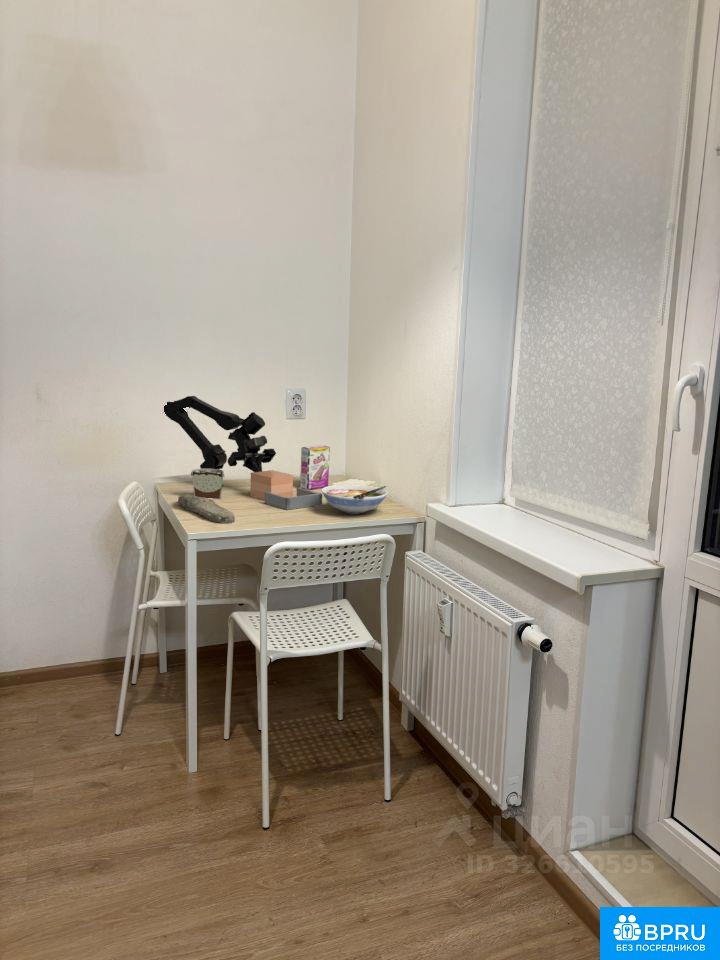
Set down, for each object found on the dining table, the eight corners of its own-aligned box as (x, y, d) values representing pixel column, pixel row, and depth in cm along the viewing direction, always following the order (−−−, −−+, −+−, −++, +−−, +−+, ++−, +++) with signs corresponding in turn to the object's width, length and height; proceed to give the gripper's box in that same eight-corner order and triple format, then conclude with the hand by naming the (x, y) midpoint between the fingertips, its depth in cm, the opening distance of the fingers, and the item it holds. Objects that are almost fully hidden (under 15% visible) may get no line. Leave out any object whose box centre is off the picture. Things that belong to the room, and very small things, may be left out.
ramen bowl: (340, 501, 282) (341, 479, 281) (398, 509, 272) (399, 486, 271) (306, 514, 260) (307, 490, 258) (368, 523, 250) (369, 498, 249)
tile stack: (250, 496, 285) (250, 472, 283) (271, 493, 292) (272, 470, 290) (271, 502, 277) (271, 477, 275) (292, 499, 284) (293, 474, 282)
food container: (228, 496, 284) (228, 469, 282) (224, 499, 278) (224, 472, 276) (195, 494, 285) (195, 467, 283) (190, 497, 279) (190, 470, 277)
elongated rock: (213, 530, 241) (242, 528, 247) (214, 513, 240) (243, 512, 246) (170, 502, 268) (197, 501, 274) (171, 487, 267) (198, 487, 273)
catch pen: (264, 503, 274) (264, 492, 274) (299, 498, 285) (299, 487, 284) (287, 510, 265) (287, 498, 264) (322, 504, 275) (322, 493, 274)
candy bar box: (308, 490, 299) (309, 448, 296) (299, 488, 303) (300, 446, 300) (329, 487, 307) (330, 446, 304) (320, 485, 311) (321, 444, 308)
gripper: (231, 430, 283) (248, 464, 277) (273, 427, 295) (290, 460, 289) (220, 448, 290) (236, 482, 284) (261, 445, 302) (277, 477, 296)
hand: (261, 475), depth 288 cm, fingers closed
